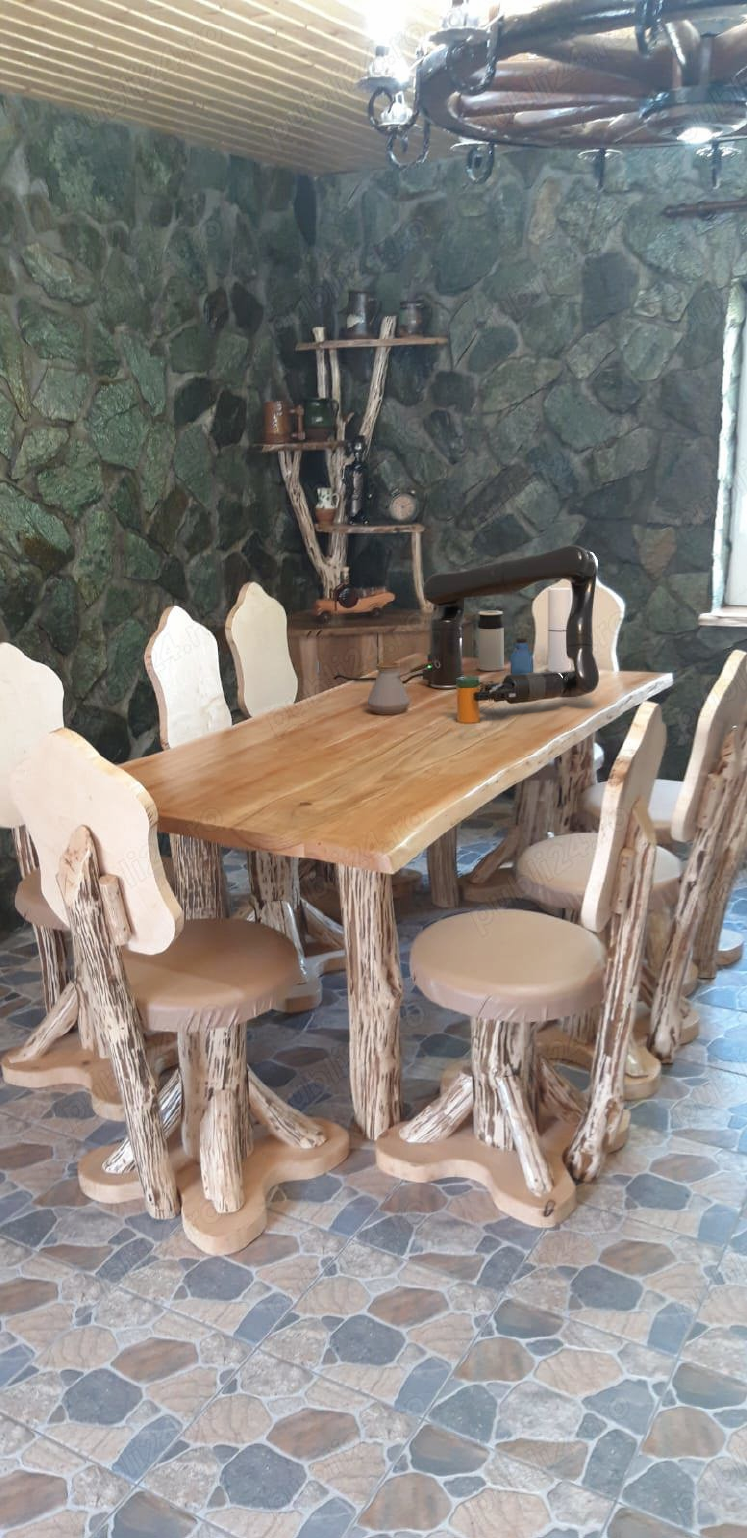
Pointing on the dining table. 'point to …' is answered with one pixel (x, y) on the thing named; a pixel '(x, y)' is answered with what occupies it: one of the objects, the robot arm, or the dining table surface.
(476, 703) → the honey jar
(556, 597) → the cylindrical container
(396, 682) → the coffee pot
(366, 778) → the dining table surface
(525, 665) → the perfume bottle
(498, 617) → the travel mug
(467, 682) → the honey lid
